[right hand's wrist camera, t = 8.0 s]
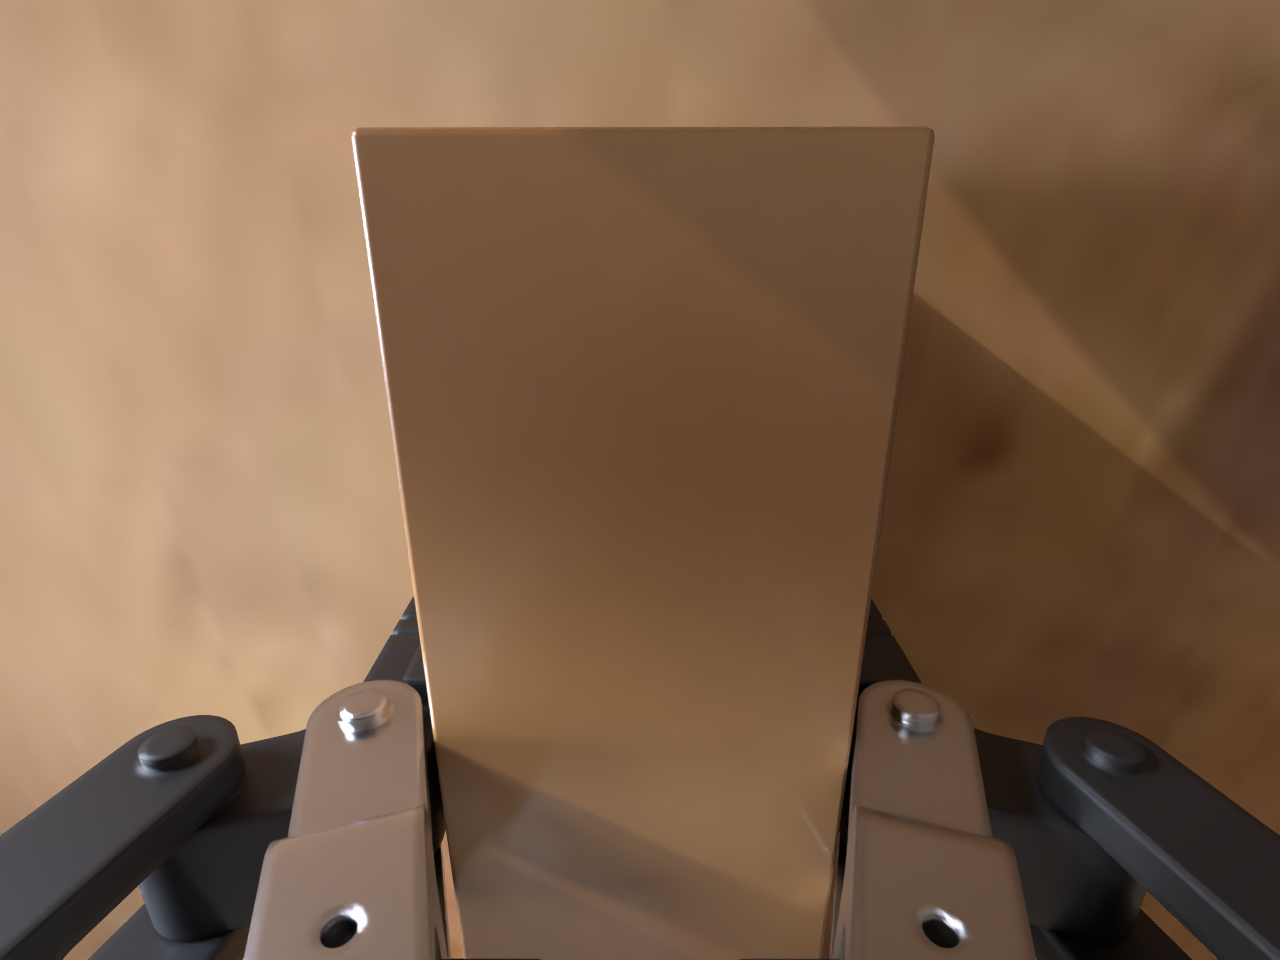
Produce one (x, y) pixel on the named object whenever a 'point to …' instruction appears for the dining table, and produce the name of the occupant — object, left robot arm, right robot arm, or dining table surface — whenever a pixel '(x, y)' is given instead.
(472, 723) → the beam
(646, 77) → the dining table surface
